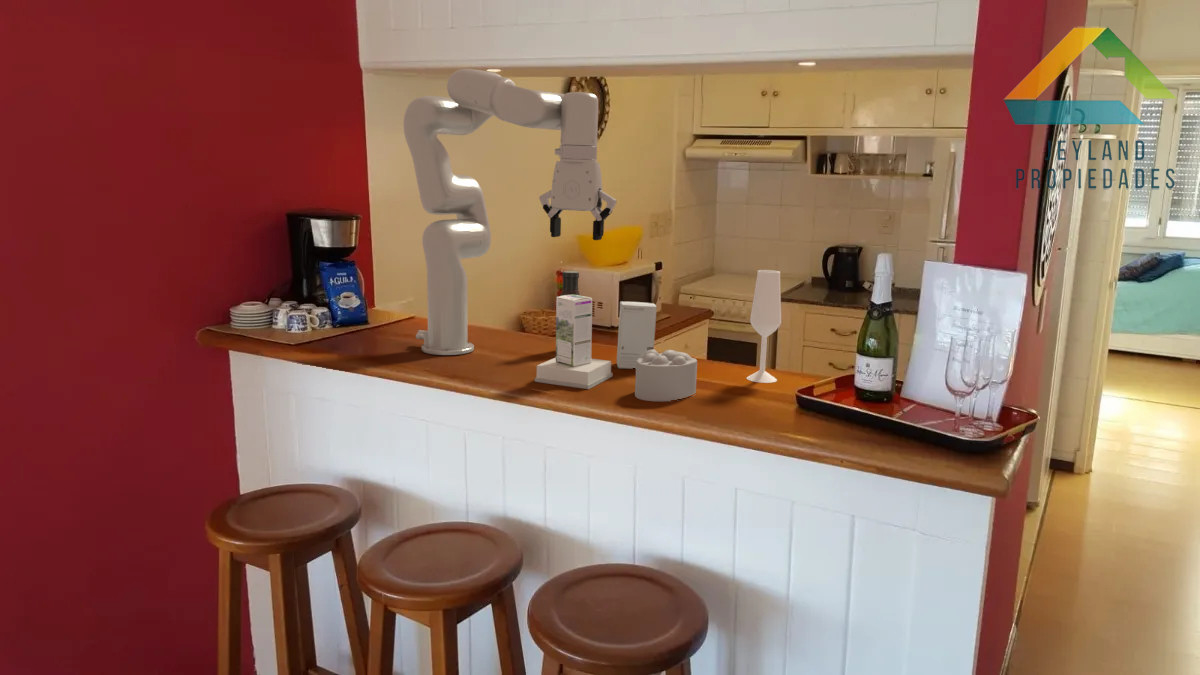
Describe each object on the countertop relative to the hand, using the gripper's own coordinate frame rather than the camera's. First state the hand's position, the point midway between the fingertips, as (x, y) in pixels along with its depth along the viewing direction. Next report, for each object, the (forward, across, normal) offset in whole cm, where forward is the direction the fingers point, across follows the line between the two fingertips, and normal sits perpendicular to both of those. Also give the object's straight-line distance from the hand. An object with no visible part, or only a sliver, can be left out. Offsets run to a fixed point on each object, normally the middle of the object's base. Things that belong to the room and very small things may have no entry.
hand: (576, 238), depth 182 cm
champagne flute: (+30, +36, +21) cm, 52 cm away
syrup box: (+27, 0, 0) cm, 27 cm away
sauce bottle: (+31, -12, +24) cm, 41 cm away
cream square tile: (+30, +1, 0) cm, 30 cm away
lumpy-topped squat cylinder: (+31, +22, -2) cm, 37 cm away
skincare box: (+31, +8, +18) cm, 36 cm away
